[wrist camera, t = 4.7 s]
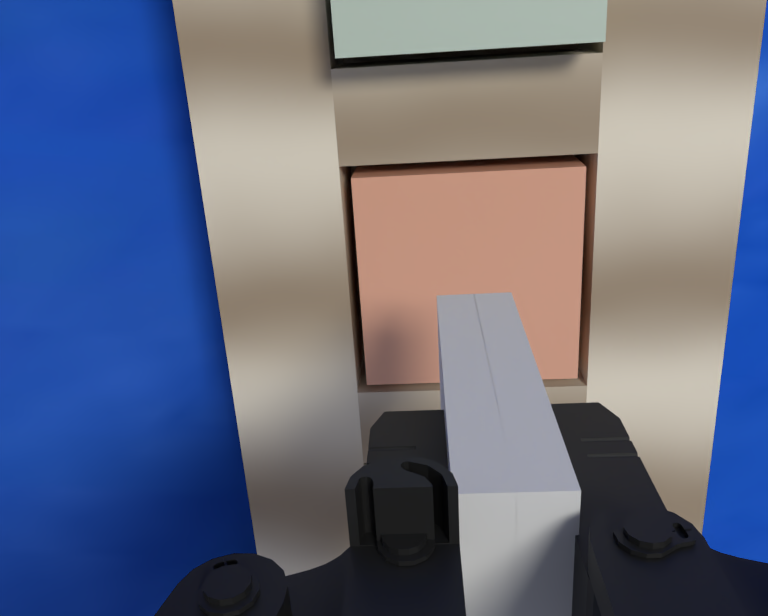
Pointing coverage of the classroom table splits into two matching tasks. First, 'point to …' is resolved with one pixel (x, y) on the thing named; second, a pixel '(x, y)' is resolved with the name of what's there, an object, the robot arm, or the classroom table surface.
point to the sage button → (461, 25)
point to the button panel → (451, 143)
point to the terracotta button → (468, 255)
